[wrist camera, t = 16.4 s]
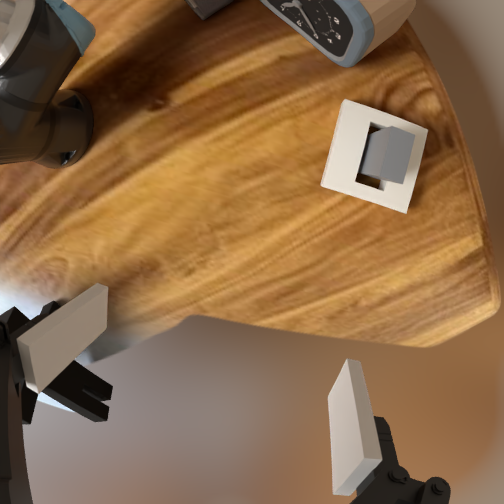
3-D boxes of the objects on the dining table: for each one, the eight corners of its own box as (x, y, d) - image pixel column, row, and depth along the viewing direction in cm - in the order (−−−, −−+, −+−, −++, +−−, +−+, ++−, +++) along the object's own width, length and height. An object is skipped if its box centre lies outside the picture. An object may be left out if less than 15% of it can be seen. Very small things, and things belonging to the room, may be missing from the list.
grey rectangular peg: (357, 172, 45) (379, 176, 33) (367, 135, 43) (391, 125, 31) (376, 178, 45) (402, 184, 32) (385, 141, 43) (415, 134, 31)
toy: (107, 458, 50) (-20, 390, 32) (84, 457, 51) (-33, 392, 34) (124, 352, 71) (31, 272, 53) (102, 359, 72) (14, 284, 55)
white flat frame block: (320, 185, 46) (322, 186, 43) (341, 103, 43) (344, 99, 39) (398, 210, 46) (406, 213, 42) (419, 131, 42) (428, 129, 38)
